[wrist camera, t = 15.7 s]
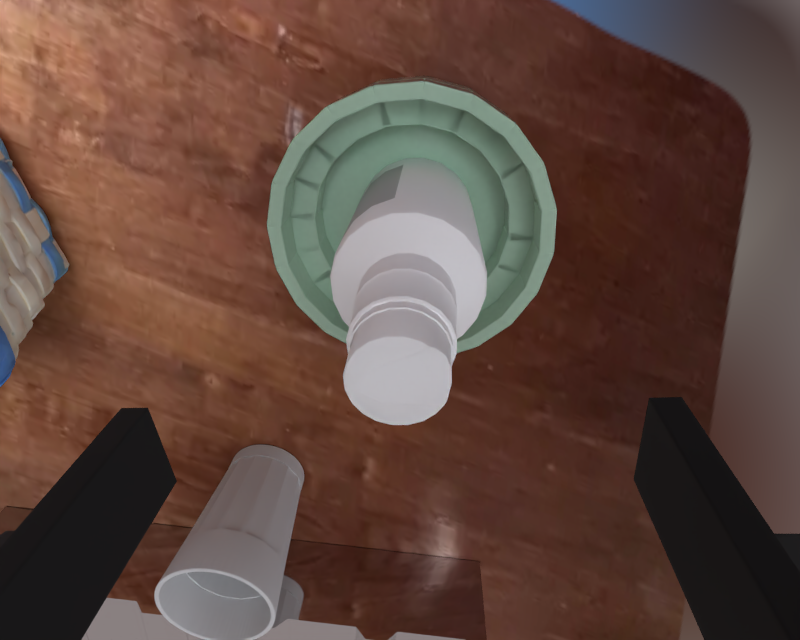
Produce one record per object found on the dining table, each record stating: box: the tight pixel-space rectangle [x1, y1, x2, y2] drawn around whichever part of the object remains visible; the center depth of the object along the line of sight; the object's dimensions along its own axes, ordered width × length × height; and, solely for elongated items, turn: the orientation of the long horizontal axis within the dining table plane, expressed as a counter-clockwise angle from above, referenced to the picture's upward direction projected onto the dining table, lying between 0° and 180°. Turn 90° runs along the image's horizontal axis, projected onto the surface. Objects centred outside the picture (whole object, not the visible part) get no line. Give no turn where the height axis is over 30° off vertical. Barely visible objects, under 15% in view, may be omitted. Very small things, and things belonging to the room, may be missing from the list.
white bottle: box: [330, 158, 487, 425], centre depth 24 cm, size 7×7×18 cm
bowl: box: [267, 76, 557, 353], centre depth 30 cm, size 16×16×5 cm
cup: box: [154, 444, 304, 640], centre depth 39 cm, size 8×8×12 cm
